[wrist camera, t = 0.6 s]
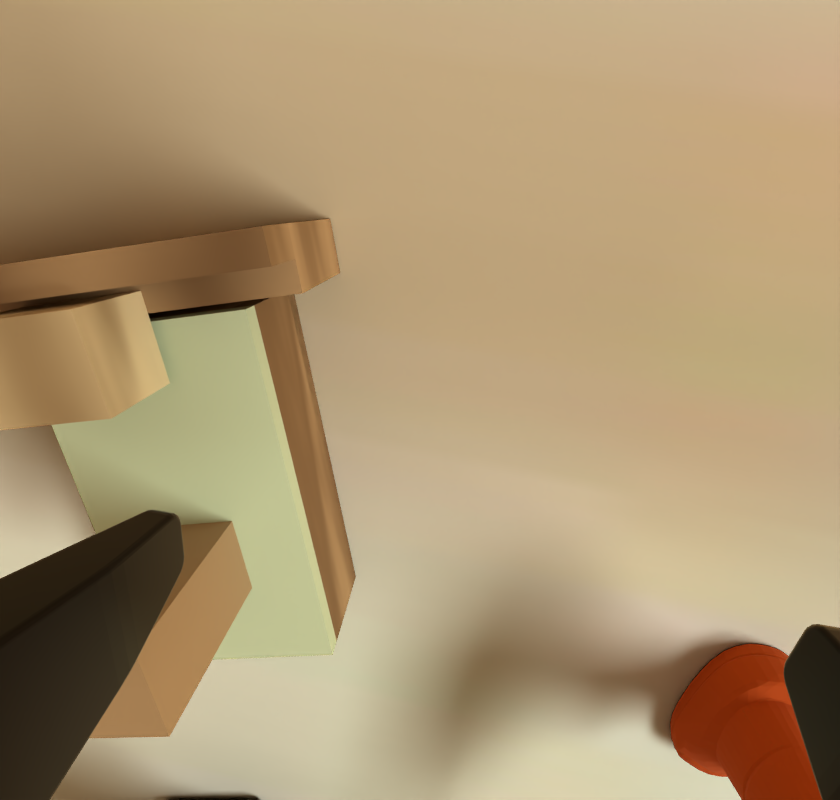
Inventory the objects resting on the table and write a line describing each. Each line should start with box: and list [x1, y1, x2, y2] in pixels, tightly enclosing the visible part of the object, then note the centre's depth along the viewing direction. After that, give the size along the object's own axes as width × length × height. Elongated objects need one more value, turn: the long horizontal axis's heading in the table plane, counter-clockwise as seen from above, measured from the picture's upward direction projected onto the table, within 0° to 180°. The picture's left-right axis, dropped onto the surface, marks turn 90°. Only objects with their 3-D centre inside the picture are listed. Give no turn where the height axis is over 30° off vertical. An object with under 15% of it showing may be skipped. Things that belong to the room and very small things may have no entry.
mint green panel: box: [51, 305, 337, 738], centre depth 17 cm, size 8×14×8 cm, turn 8°
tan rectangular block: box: [0, 291, 170, 430], centre depth 15 cm, size 4×3×3 cm
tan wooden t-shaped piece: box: [0, 219, 356, 641], centre depth 20 cm, size 18×16×7 cm
